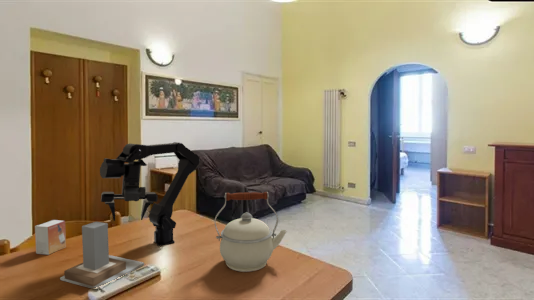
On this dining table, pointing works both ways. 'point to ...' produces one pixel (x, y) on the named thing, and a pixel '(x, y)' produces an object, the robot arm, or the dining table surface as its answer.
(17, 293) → the dining table surface
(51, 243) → the small box
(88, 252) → the post
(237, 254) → the kettle
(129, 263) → the plinth
